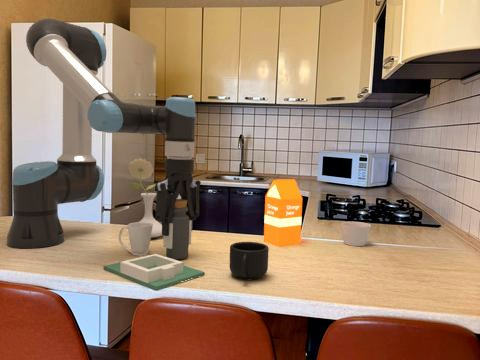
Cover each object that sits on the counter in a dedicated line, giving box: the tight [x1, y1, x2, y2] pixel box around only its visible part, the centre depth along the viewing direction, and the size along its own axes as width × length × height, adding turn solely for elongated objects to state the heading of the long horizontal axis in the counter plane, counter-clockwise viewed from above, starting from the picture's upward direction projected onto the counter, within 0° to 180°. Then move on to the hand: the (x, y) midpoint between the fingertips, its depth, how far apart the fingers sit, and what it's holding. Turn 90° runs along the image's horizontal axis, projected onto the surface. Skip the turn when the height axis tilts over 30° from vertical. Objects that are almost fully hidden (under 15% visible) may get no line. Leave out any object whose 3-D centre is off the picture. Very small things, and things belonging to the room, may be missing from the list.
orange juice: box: [263, 178, 303, 248], centre depth 131 cm, size 8×9×20 cm
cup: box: [118, 221, 153, 256], centre depth 115 cm, size 7×10×8 cm
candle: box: [341, 221, 372, 247], centre depth 133 cm, size 9×9×6 cm
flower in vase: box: [127, 158, 163, 239], centre depth 134 cm, size 13×11×25 cm
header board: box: [103, 253, 205, 291], centre depth 99 cm, size 20×14×3 cm
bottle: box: [165, 198, 189, 260], centre depth 111 cm, size 6×6×15 cm
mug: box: [229, 241, 270, 280], centre depth 97 cm, size 12×9×7 cm
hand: (177, 245), depth 111 cm, fingers closed on bottle, 6 cm apart
